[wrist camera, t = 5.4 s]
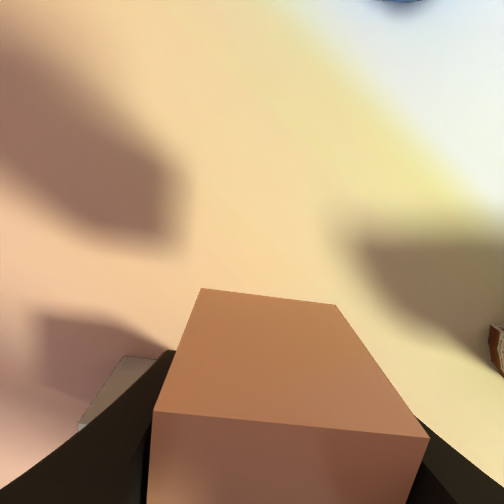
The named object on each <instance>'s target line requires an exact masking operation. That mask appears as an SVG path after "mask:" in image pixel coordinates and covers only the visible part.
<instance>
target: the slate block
mask: <svg viewBox="0 0 504 504" xmlns="http://www.w3.org/2000/svg"><path fill="white" fill-rule="evenodd" d="M155 361H156V360H155V359H146V358H137V357H128V356H123V357H122V359H121V360H120V362H119V363H118V365H117V366H116V368H115V369H114V371H113V372H112V374H111V375H110V377H109V378H108V380H107V381H106V383H105V384H104V386H103V387H102V388H101V390H100V391H99V393H98V394H97V396H96V397H95V399H94V400H93V402H92V403H91V405H90V406H89V408H88V409H87V411H86V412H85V414H84V415H83V417H82V418H81V420H80V421H79V423H78V432H79V431H80V430H81V429H82V428H84V427H85V426H86V425H87V424H88V423H89V422H91V421H92V420H93V419H94V418H95V417H96V416H98V415H99V414H100V413H101V412H102V411H104V410H105V409H106V408H107V407H108V406H109V405H111V404H112V403H113V402H114V401H115V400H116V399H117V398H118V397H119V396H120V395H121V394H123V393H124V392H125V391H126V390H127V389H128V388H129V387H130V386H131V385H132V384H133V383H134V382H135V381H136V380H137V379H138V378H139V377H141V376H142V375H143V374H144V373H145V372H146V371H147V370H148V369H149V368H150V366H151V365H152V364H153V363H154V362H155Z"/></svg>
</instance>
